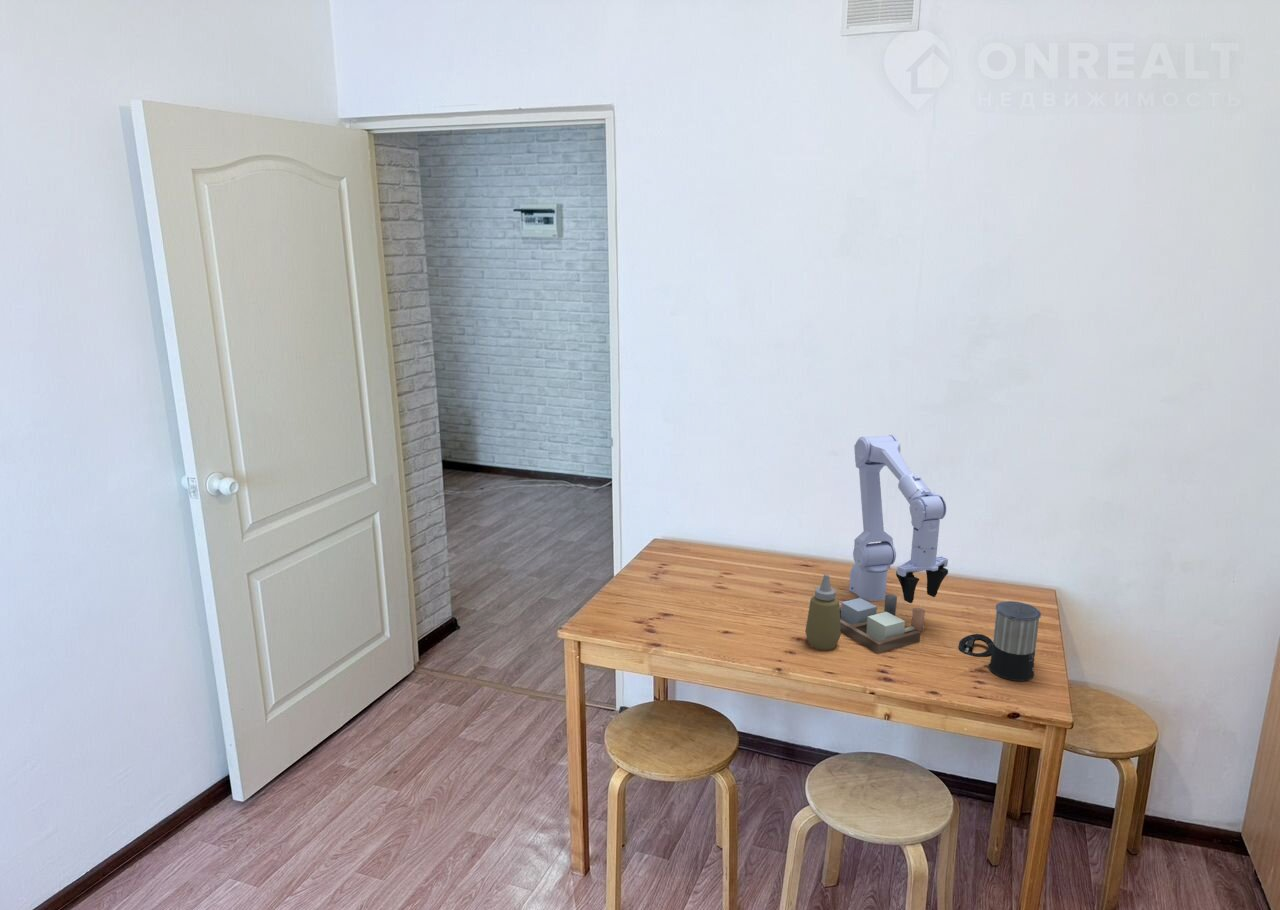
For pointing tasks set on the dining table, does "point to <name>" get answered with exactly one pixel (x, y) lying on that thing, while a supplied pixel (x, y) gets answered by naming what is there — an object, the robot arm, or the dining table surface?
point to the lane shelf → (860, 636)
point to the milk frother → (1009, 641)
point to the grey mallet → (865, 609)
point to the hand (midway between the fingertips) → (919, 598)
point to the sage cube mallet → (893, 624)
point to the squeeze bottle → (823, 617)
